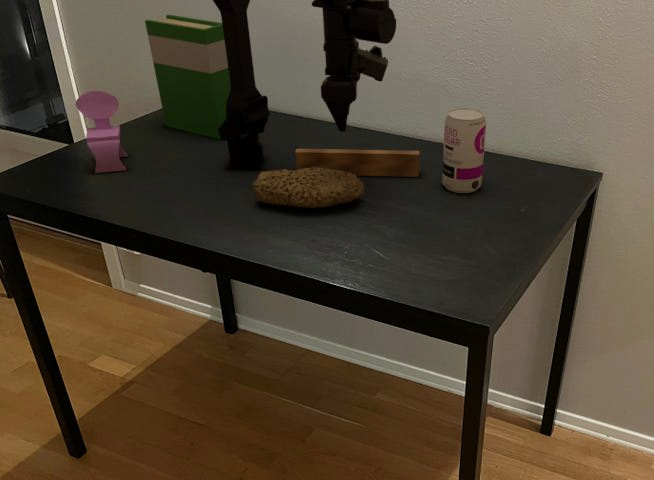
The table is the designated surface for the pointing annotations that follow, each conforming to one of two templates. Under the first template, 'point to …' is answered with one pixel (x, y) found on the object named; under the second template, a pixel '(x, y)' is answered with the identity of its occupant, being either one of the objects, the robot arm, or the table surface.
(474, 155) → the supplement can
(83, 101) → the toy chair
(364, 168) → the back rail
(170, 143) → the table surface
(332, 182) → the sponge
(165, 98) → the hardback book
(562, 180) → the table surface
